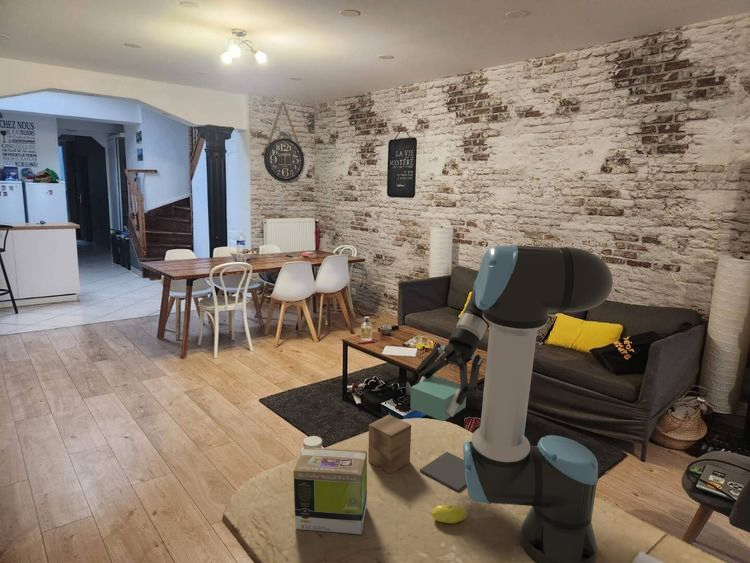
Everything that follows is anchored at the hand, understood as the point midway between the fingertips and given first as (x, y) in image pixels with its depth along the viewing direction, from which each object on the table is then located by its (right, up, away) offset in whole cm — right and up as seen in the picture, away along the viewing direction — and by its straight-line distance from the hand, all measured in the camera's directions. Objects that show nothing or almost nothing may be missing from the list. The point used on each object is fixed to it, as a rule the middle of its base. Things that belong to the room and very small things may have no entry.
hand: (431, 407), depth 125 cm
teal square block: (+2, -1, +3) cm, 3 cm away
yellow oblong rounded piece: (+2, -23, -13) cm, 26 cm away
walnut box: (-11, -17, +9) cm, 22 cm away
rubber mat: (+6, -18, +5) cm, 20 cm away
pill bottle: (-30, -19, 0) cm, 35 cm away
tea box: (-24, -22, -13) cm, 35 cm away
